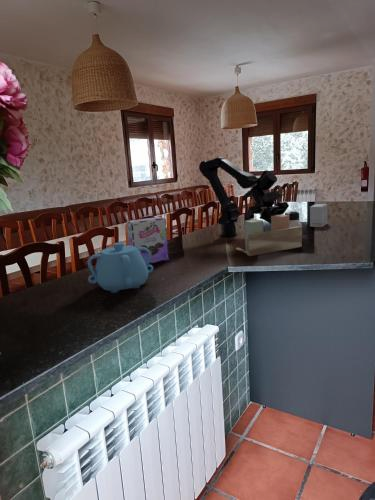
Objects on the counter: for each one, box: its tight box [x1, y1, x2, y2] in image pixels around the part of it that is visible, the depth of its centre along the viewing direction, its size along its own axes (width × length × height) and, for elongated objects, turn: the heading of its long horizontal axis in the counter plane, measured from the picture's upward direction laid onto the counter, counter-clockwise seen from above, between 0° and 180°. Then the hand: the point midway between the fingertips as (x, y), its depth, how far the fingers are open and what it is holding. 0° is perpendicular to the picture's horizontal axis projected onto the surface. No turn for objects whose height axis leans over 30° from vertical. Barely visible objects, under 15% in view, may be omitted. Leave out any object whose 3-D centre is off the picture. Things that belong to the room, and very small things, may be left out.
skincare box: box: [309, 203, 328, 228], centre depth 180 cm, size 10×6×10 cm, turn 145°
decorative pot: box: [87, 241, 154, 294], centre depth 106 cm, size 16×16×14 cm
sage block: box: [244, 218, 264, 251], centre depth 136 cm, size 5×5×12 cm
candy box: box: [126, 216, 170, 265], centre depth 131 cm, size 14×6×16 cm, turn 117°
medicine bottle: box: [284, 210, 303, 228], centre depth 153 cm, size 7×7×12 cm
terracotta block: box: [270, 214, 289, 231], centre depth 143 cm, size 5×5×12 cm
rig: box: [235, 226, 303, 257], centre depth 140 cm, size 12×24×8 cm, turn 112°
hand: (276, 225), depth 145 cm, fingers closed, pressing on terracotta block
